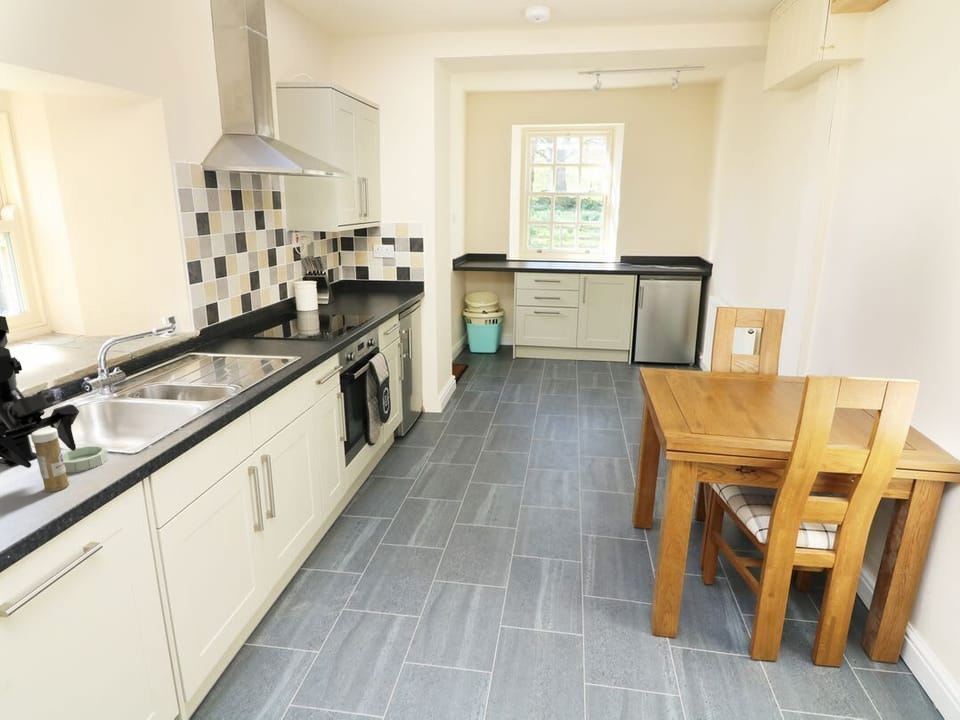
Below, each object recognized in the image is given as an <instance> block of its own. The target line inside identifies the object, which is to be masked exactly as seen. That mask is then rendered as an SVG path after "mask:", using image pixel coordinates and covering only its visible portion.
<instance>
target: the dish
mask: <svg viewBox="0 0 960 720" xmlns="http://www.w3.org/2000/svg"><path fill="white" fill-rule="evenodd" d="M61 453H62V457H63V461H64V465H65V469H66V473H78V472H84V471H88V469H89V470H91V468H92V469H94V468H97V467H100V466H102V465H104V464H105V463H106V462H108V461H109V453H108V447H107V446H105V445H102V444H90V445H88V444H87V445H84V446H77V447H76V449H75V450H74V451H72V450H71V449H69V450H66V451H64V452H61ZM105 461H106V462H105ZM104 462H105V463H104ZM101 464H102V465H101ZM99 465H100V466H99ZM96 466H97V467H96ZM93 467H94V468H93Z"/></svg>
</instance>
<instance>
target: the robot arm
mask: <svg viewBox="0 0 960 720" xmlns="http://www.w3.org/2000/svg"><path fill="white" fill-rule="evenodd" d="M7 334H10V329H9V325H8V321H7V317H6V316H3V315H0V464H1V465H2V464H3V465H5V466H8V467H13V466H16V465H20V466H23V467H24V468H26V469H29V468H31V467H32V463H31V462H30V460H33V459H37V456H36V455H37V454H36V452H33V449H32V445H31V440H30V436H31V434H32V433H33V432H34V431H37V430H40V429H44V428H48V427H50V428H56V429H57V432H58V439H60V441H62V443H63V444H64V445H65V446H66V447H67V448H69V450H72V451H74V450H75V449H76V448H77V447H76V442H75V440H74V435H73V431H72V425H73V424H74V422H75V421H76V419H77V418H78V415H79V413H80V411H79V410H80V409H78V408H77V406H75V405H74V404H66V405H63V406H60V407H56V408H54V409H53V411H52V412H51V414H50V416H47V417H44V418H42V416H44V415H45V410H46V409H49V408H50V407H51V406H50V404H51V405H52V403H54V402H56V397H55V395H54V394H53V392H52V391H51V390H50V389H49V388H46V389H41V390H39V391H38V392H36V394H35V395H31V396H24V395H23V393H22V392H21V391H20V390H19V388H18V387H17V384H18V383H17V379H16V377H17V376H16V375H19V374H20V371H23V367H22V365H21V361H19V360H18V358H16V357H15V356H14V357H12V355H11V351H10V349H9V348H7V347H6V345H7V344H8V336H7Z"/></svg>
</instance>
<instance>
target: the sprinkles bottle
mask: <svg viewBox="0 0 960 720" xmlns="http://www.w3.org/2000/svg"><path fill="white" fill-rule="evenodd" d="M30 436H31V438H30V439H31V441H32V443H33V445H34V448H35V453H36V454H37V455H36V456H37V458H36V460H37V463H38V467H39V472H40V475H41V479H42V480H43V486H44V488H43V490H44V492H45V491H46V492H49V493H53V492H57V491H62V490H63V489H65V488H67V487H68V486H69V485H70V483H69V481H68V477H67V472H66V469H65V465H64V461H63V457H62V453H63V452H62V451H61V447H60V442H59V437H58V432H57V429H56V428H51V427H44V428H41V429H38V430H37V431H34V432H33V433H32V434H31V435H30Z"/></svg>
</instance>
